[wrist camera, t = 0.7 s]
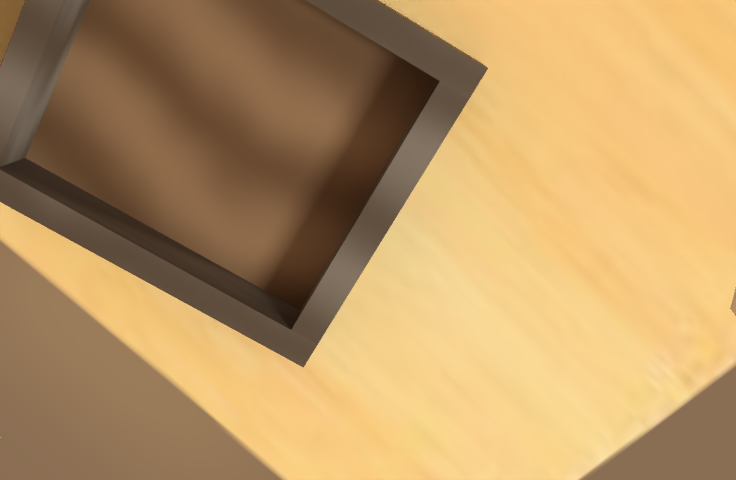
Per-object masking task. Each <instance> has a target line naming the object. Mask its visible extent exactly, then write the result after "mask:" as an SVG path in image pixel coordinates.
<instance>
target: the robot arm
mask: <svg viewBox="0 0 736 480" xmlns="http://www.w3.org/2000/svg"><path fill="white" fill-rule="evenodd" d="M730 309H731V310H732V311H733V312H734V314H735V315H736V289H735V293H734V297H733V301H732V304H731V308H730ZM0 438H1V437H0Z"/></svg>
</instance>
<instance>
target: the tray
mask: <svg viewBox="0 0 736 480" xmlns="http://www.w3.org/2000/svg"><path fill="white" fill-rule="evenodd" d="M487 69H488V68H487V67H486V66H484V65H483V64H482V63H480V62H478V61H477V60H475V59H474V58H472V57H470V56H469V55H467V54H465V53H464V52H462V51H460V50H459V49H457V48H455V47H454V46H452V45H451V44H449V43H447V42H446V41H444V40H442V39H441V38H439V37H437V36H436V35H434V34H432V33H431V32H429V31H428V30H426V29H424V28H423V27H421V26H419V25H418V24H416V23H414V22H413V21H411V20H409V19H408V18H406V17H404V16H403V15H401V14H400V13H398V12H396V11H395V10H393V9H391V8H390V7H388V6H386V5H385V4H383V3H381V2H380V1H378V0H25V3H24V6H23V8H22V11H21V14H20V16H19V19H18V22H17V24H16V27H15V29H14V32H13V35H12V37H11V40H10V43H9V45H8V48H7V51H6V53H5V56H4V58H3V61H2V64H1V66H0V202H1V203H3V204H5V205H7V206H9V207H11V208H12V209H14V210H16V211H18V212H20V213H22V214H23V215H25V216H27V217H29V218H31V219H33V220H34V221H36V222H38V223H40V224H42V225H44V226H45V227H47V228H49V229H51V230H53V231H55V232H56V233H58V234H60V235H62V236H64V237H66V238H67V239H69V240H71V241H73V242H75V243H77V244H78V245H80V246H82V247H84V248H86V249H88V250H89V251H91V252H93V253H95V254H97V255H99V256H100V257H102V258H104V259H106V260H108V261H109V262H111V263H113V264H115V265H117V266H119V267H120V268H122V269H124V270H126V271H128V272H130V273H131V274H133V275H135V276H137V277H139V278H141V279H142V280H144V281H146V282H148V283H150V284H152V285H153V286H155V287H157V288H159V289H161V290H163V291H164V292H166V293H168V294H170V295H172V296H174V297H175V298H177V299H179V300H181V301H183V302H185V303H186V304H188V305H190V306H192V307H194V308H196V309H197V310H199V311H201V312H203V313H205V314H207V315H208V316H210V317H212V318H214V319H216V320H218V321H219V322H221V323H223V324H225V325H227V326H229V327H230V328H232V329H234V330H236V331H238V332H240V333H241V334H243V335H245V336H247V337H249V338H251V339H252V340H254V341H256V342H258V343H260V344H262V345H263V346H265V347H267V348H269V349H271V350H273V351H274V352H276V353H278V354H280V355H282V356H284V357H285V358H287V359H289V360H291V361H293V362H295V363H296V364H298V365H300V366H302V367H304V366H305V364H306V362H307V361H308V359H309V357H310V356H311V354H312V353H313V351H314V349H315V348H316V346H317V345H318V343H319V341H320V340H321V338H322V336H323V335H324V333H325V332H326V330H327V328H328V327H329V325H330V323H331V322H332V320H333V319H334V317H335V315H336V314H337V312H338V310H339V309H340V307H341V306H342V304H343V302H344V301H345V299H346V298H347V296H348V294H349V293H350V291H351V289H352V288H353V286H354V285H355V283H356V281H357V280H358V278H359V276H360V275H361V273H362V272H363V270H364V268H365V267H366V265H367V264H368V262H369V260H370V259H371V257H372V255H373V254H374V252H375V251H376V249H377V247H378V246H379V244H380V242H381V241H382V239H383V238H384V236H385V234H386V233H387V231H388V229H389V228H390V226H391V225H392V223H393V221H394V220H395V218H396V217H397V215H398V213H399V212H400V210H401V208H402V207H403V205H404V204H405V202H406V200H407V199H408V197H409V195H410V194H411V192H412V191H413V189H414V187H415V186H416V184H417V182H418V181H419V179H420V178H421V176H422V174H423V173H424V171H425V170H426V168H427V166H428V165H429V163H430V161H431V160H432V158H433V157H434V155H435V153H436V152H437V150H438V148H439V147H440V145H441V144H442V142H443V140H444V139H445V137H446V135H447V134H448V132H449V131H450V129H451V127H452V126H453V124H454V123H455V121H456V119H457V118H458V116H459V114H460V113H461V111H462V110H463V108H464V106H465V105H466V103H467V101H468V100H469V98H470V97H471V95H472V93H473V92H474V90H475V88H476V87H477V85H478V84H479V82H480V80H481V79H482V77H483V76H484V74H485V72H486V71H487Z"/></svg>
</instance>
